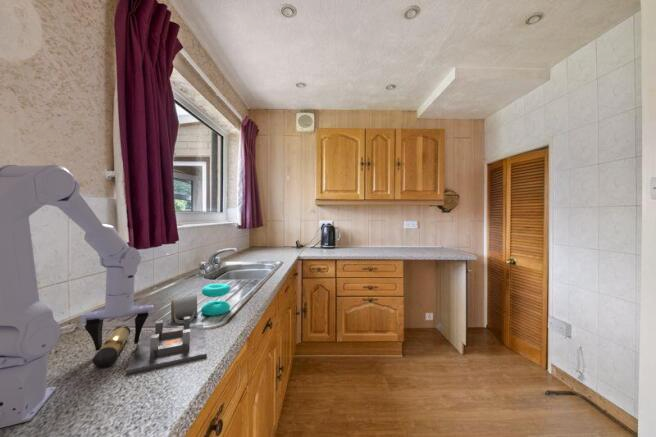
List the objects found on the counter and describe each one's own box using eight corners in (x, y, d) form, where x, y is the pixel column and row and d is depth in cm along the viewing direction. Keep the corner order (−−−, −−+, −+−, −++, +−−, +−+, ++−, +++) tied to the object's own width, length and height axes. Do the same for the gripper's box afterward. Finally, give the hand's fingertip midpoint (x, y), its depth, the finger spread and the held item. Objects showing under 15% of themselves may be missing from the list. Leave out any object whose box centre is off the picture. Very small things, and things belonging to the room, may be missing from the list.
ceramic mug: (171, 316, 90) (171, 294, 91) (196, 312, 95) (197, 292, 95) (170, 327, 81) (170, 303, 81) (198, 322, 86) (199, 300, 86)
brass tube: (120, 360, 59) (111, 345, 58) (98, 372, 57) (89, 356, 57) (133, 334, 73) (126, 322, 72) (115, 343, 71) (108, 330, 70)
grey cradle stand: (206, 357, 63) (207, 335, 63) (125, 375, 55) (126, 349, 55) (202, 327, 81) (203, 310, 81) (141, 337, 74) (142, 318, 74)
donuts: (228, 288, 92) (198, 289, 90) (227, 316, 92) (197, 317, 90) (232, 282, 102) (205, 283, 100) (231, 307, 101) (205, 308, 99)
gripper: (155, 286, 72) (153, 334, 72) (88, 292, 65) (86, 344, 65) (152, 292, 66) (150, 344, 66) (77, 299, 59) (75, 357, 59)
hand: (118, 345), depth 65 cm, fingers open, 7 cm apart
